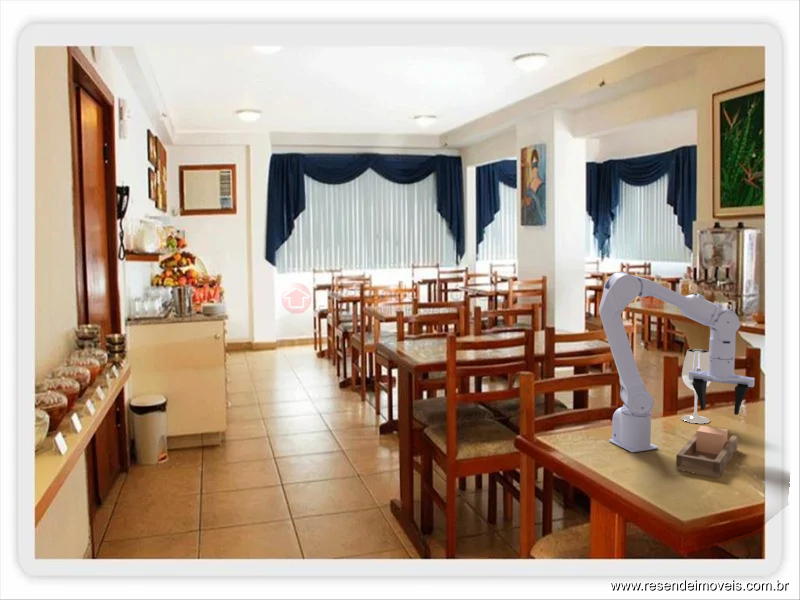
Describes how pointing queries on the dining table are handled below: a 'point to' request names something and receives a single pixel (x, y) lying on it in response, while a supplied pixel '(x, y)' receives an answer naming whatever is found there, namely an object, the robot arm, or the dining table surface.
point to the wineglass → (692, 362)
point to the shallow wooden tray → (705, 458)
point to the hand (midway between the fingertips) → (719, 411)
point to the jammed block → (711, 439)
